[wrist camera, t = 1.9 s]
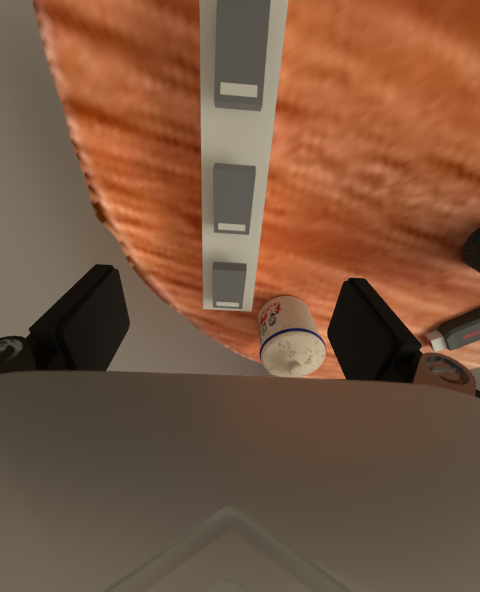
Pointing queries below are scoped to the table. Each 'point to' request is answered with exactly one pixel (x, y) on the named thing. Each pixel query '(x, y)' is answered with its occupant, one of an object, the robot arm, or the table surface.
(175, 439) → the robot arm
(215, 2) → the power strip
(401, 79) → the table surface
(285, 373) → the teacup with lid
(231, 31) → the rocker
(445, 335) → the usb drive
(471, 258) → the travel mug
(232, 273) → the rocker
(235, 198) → the rocker middle
